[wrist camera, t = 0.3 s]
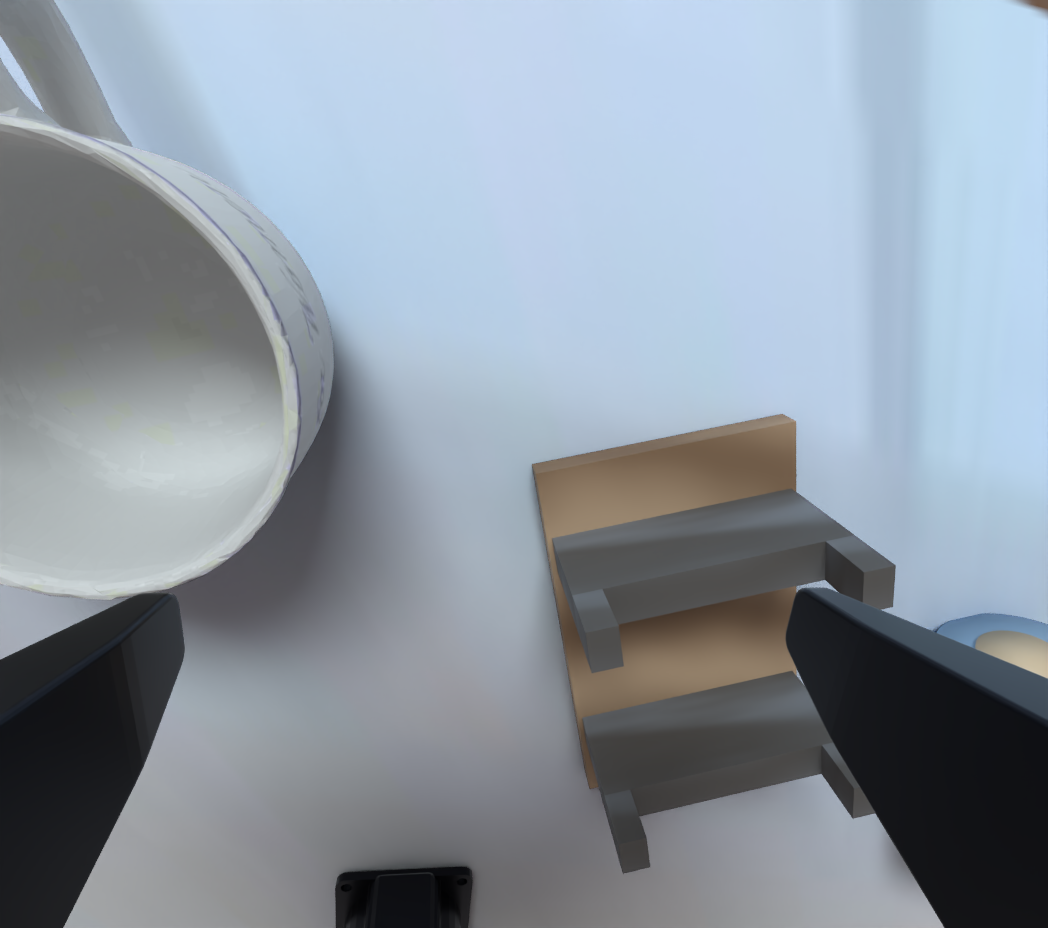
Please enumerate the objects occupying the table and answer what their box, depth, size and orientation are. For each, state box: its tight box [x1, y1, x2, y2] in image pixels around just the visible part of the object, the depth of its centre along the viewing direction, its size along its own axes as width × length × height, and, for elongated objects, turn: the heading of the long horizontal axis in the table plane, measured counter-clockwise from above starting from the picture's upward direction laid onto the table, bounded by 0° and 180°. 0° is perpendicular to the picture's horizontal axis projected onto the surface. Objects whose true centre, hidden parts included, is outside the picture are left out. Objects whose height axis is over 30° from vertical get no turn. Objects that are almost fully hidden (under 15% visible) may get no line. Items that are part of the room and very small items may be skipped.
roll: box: [936, 614, 1048, 678], centre depth 29 cm, size 12×6×6 cm, turn 10°
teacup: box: [0, 0, 334, 600], centre depth 16 cm, size 14×11×8 cm
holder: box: [532, 414, 896, 874], centre depth 24 cm, size 16×10×7 cm, turn 10°
